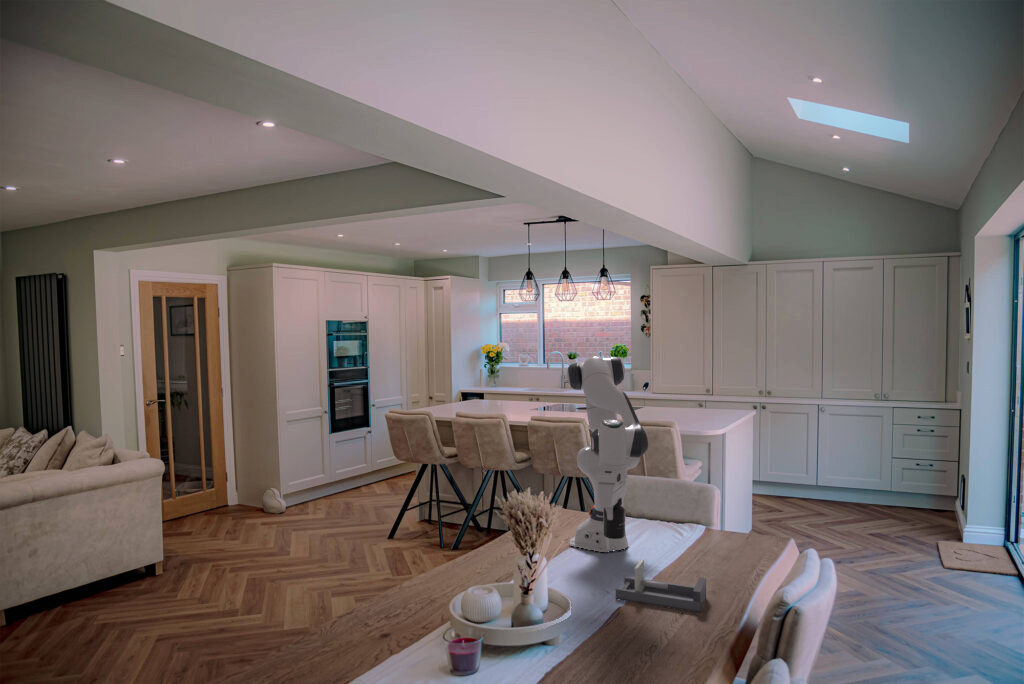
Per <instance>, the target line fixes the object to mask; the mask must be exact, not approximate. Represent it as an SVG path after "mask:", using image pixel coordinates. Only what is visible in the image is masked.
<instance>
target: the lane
mask: <svg viewBox="0 0 1024 684" xmlns="http://www.w3.org/2000/svg"><path fill="white" fill-rule="evenodd" d="M623 578H624V579H623V581H624V585H623V586H622V588H619V587H616V588H615V600H617V599H620V600H619V601H624V600H625V602H630V601H631V602H632V603H636V602H637V604H642V603H643V604H644V605H648V604H649V606H656V607H661V606H662V608H667V607H670V608H669V609H673V608H675V609H674V610H679V609H682V611H686V610H689V611H688V612H692V611H694V612H693V613H698V614H702V612H703V608H704V605H705V602H706V600H707V578H705V577H700V576H699V577H698V579H697V581H696V583H695V585H686V584H680V583H679V584H678V583H673V582H665V581H659V580H653V579H646V578H644V580H646V581H653V582H659V583H666V584H668V589H662V588H655V587H649V586H644V590H643V591H642V592H640V591H635V577H631V576H630V577H629V576H624V577H623ZM643 604H642V605H643Z"/></svg>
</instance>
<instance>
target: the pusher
mask: <svg viewBox="0 0 1024 684" xmlns="http://www.w3.org/2000/svg"><path fill="white" fill-rule="evenodd" d="M634 578H635V591H640V592H642V591H643V590H644V586H649V587H655V588H662V589H668V584H666V583H659V582H653V581H654V580H653V581H646V580H647V579H646V580H644V579H645V560H644V559H640V560H639V561H638V563H637V564H636V565H635V567H634Z"/></svg>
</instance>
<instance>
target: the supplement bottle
mask: <svg viewBox="0 0 1024 684" xmlns="http://www.w3.org/2000/svg"><path fill="white" fill-rule="evenodd" d="M621 505H622V498H620V499H618V502H617V503H616V504H615V505H614V506H613V513H614V518H613V520H608V519H607V513H606V509H605V508H604V509H603V535H604V536H605V537H607V538H611V539H621V538H623V537H624V536H625V532H626V509H625V506H624V507H622V506H621Z"/></svg>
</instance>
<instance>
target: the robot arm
mask: <svg viewBox="0 0 1024 684" xmlns="http://www.w3.org/2000/svg"><path fill="white" fill-rule="evenodd" d="M625 374H626V368H625V365H624V363H623V361H622V359H621V358H619V357H617V356H610V357H600V356H591V357H589V358H587V359H586V360H584V361H580V362H574V363H571V364H570V365H568V367H567V372H566V379H567V380H566V381H567V383H568V384H569V386H570V388H572V390H575V391H577V390H578V391H582V390H583V393H584V396H585V407H586V415H587V421H588V428H589V429H590V431H591V434H590V439H591V440H590V441H591V442H590V443H591V445H587V446H585V447H582V448H580V450H579V451H578V453H577V457H576V463H577V466H578V468H579V470H580V471H581V472H582V473H583V474H585V475H586V476H587V478H588V479H589V481H590V482H591V485H592V488H593V494H594V495H593V496H594V497H593V500H594V505H593V506H592V507H591V508H590V509H589V511H588V515H589V517H588V518H587V519H585V520H584V521H582V522H581V523H580V524H579V525H577V527H576V530H575V534H574V536H573V537H571V538H570V539H569V543H568V544H569V547H571V546H575V547H574V548H576V547H579V548H578V549H581V548H584V549H583V550H585V549H589V550H588V551H590V550H594V551H593V552H595V551H600V552H608V551H613V550H621V549H624V548H626V547H628V545H629V542H628V538H627V534H626V532H627V531H625V536H624V537H623V538H621V539H611V538H607V537H605V536H604V535H603V509H604V508H605V509H606V513H607V519H608V520H613V518H614V513H613V506H614V505H615V504H616V503H617V502H618V499H620V498H622V505H621V506H622V507H624V508H625V504H624V503H625V500H624V499H625V498H624V497H625V496H626V495H627V490H628V489H627V487H628V486H627V479H628V471H629V470H632V469H635V468H636V467H637V466H639V462H640V460H641V457H642V456H643V455H645V454H646V452H647V451H648V449H649V438H648V435H647V433H646V431H645V429H644V428H643V426H642V424H641V423H640V421H639V418H638V416H637V414H636V412H635V409H634V407H633V405H632V403H631V400H630V399H629V397H628V395H627V394H626V392H624V391H622V390H621V389H620V388H618V386H619V385H620V384H621V383H622V382H623V381H624V379H625ZM617 414H618V415H619V416H621V419H622V421H621V420H619V419H618V416H617ZM628 548H629V547H628ZM624 550H625V549H624ZM621 551H622V550H621ZM600 552H599V553H600ZM613 552H614V551H613ZM608 553H609V552H608Z"/></svg>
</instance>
